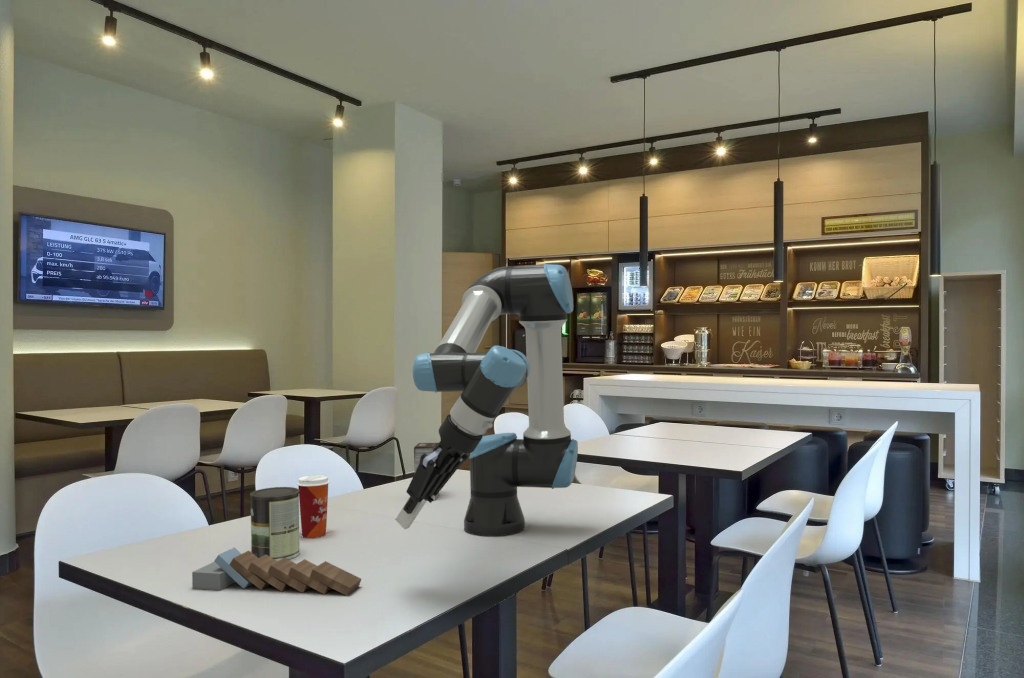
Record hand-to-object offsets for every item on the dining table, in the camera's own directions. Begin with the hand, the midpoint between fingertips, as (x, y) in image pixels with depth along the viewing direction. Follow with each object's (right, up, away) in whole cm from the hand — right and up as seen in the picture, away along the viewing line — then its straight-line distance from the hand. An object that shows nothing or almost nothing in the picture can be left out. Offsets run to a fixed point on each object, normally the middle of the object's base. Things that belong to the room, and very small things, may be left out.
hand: (402, 523), depth 131 cm
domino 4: (-17, -12, 0) cm, 21 cm away
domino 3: (-21, -12, +1) cm, 24 cm away
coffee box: (-5, -13, +80) cm, 81 cm away
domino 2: (-26, -12, +2) cm, 28 cm away
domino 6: (-9, -11, -1) cm, 14 cm away
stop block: (-36, -13, +5) cm, 39 cm away
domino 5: (-13, -12, 0) cm, 18 cm away
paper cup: (-28, -13, +39) cm, 49 cm away
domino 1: (-29, -12, +3) cm, 32 cm away
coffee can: (-31, -13, +22) cm, 40 cm away
